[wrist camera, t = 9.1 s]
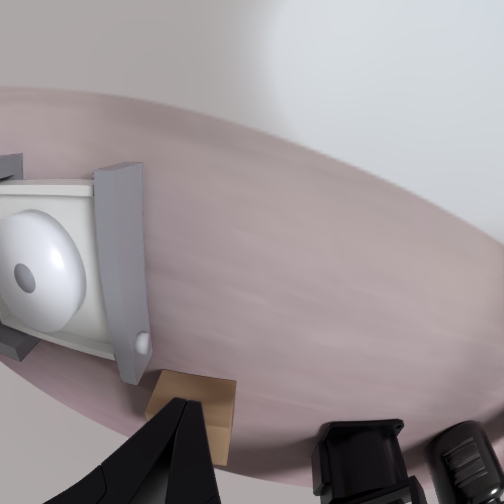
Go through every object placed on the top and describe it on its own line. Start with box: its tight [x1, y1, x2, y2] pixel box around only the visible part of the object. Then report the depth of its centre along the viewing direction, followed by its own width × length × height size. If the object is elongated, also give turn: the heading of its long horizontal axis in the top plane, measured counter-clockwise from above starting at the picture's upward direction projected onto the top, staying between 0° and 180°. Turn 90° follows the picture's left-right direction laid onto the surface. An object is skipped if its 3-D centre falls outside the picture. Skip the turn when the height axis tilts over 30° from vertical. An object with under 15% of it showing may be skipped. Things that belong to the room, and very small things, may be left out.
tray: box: [0, 162, 153, 385], centre depth 15 cm, size 12×12×3 cm
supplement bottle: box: [425, 421, 504, 504], centre depth 16 cm, size 7×7×12 cm
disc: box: [0, 209, 87, 332], centre depth 14 cm, size 7×7×2 cm
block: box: [145, 369, 236, 466], centre depth 18 cm, size 5×5×4 cm
